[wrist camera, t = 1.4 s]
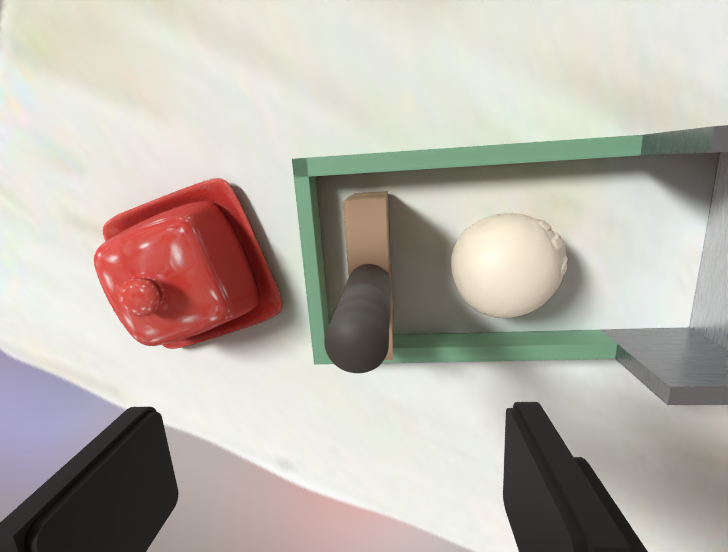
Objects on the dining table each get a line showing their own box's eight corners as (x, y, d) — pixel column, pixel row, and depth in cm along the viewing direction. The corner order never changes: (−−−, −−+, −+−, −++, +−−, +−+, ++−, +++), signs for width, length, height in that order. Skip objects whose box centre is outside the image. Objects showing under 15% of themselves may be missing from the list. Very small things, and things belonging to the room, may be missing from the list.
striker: (353, 193, 28) (312, 221, 14) (388, 191, 28) (382, 217, 14) (361, 321, 31) (334, 449, 17) (394, 320, 31) (394, 449, 17)
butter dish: (234, 170, 29) (171, 172, 21) (292, 308, 32) (257, 357, 24) (106, 221, 31) (2, 241, 23) (172, 346, 34) (100, 405, 25)
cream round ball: (555, 279, 29) (600, 312, 23) (460, 307, 30) (477, 346, 24) (534, 192, 28) (576, 201, 21) (434, 226, 29) (445, 244, 22)
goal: (621, 137, 26) (714, 126, 18) (743, 129, 25) (894, 113, 18) (598, 344, 30) (667, 405, 23) (703, 341, 30) (811, 403, 22)
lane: (300, 159, 28) (291, 159, 26) (621, 137, 26) (642, 134, 24) (320, 350, 32) (314, 364, 30) (598, 344, 30) (615, 358, 28)
